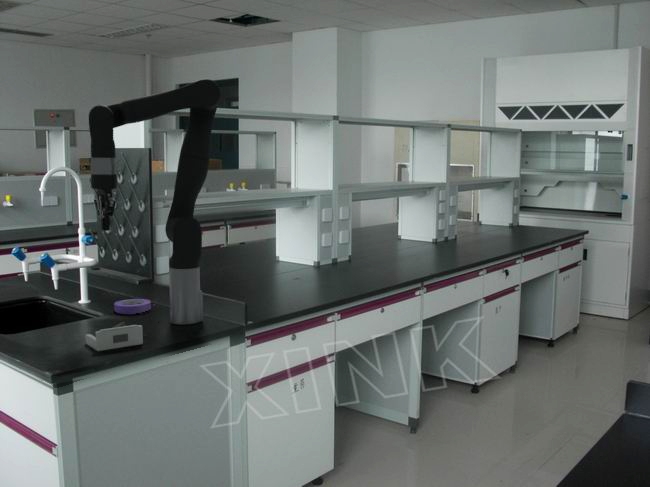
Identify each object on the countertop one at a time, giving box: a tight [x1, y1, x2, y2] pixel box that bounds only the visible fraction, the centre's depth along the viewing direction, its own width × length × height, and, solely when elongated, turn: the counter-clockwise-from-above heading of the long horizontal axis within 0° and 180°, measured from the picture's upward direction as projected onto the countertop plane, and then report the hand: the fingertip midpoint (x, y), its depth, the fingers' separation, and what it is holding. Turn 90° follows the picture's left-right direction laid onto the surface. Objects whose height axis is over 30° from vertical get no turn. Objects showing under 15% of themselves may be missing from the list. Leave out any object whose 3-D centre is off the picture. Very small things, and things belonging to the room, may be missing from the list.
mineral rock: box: [111, 321, 127, 328], centre depth 191 cm, size 11×4×8 cm
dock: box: [85, 324, 144, 352], centre depth 185 cm, size 12×10×5 cm
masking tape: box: [113, 298, 152, 315], centre depth 224 cm, size 12×12×4 cm
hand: (105, 230), depth 205 cm, fingers closed
